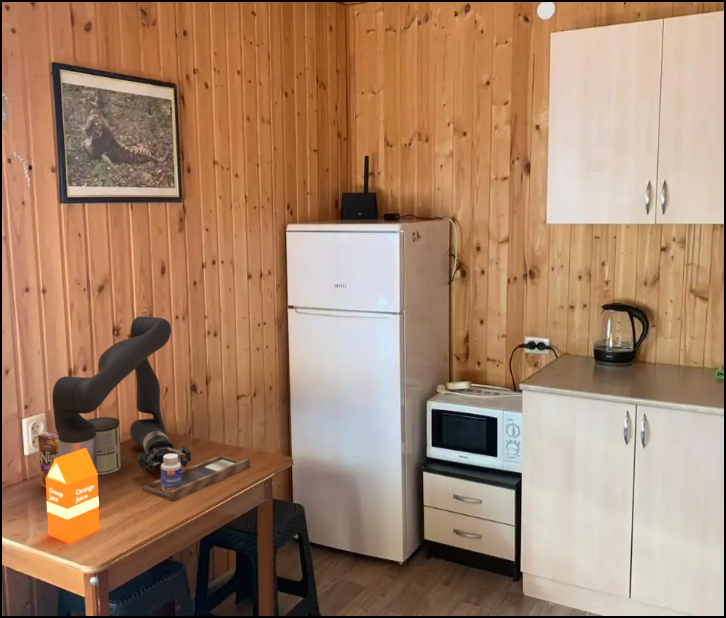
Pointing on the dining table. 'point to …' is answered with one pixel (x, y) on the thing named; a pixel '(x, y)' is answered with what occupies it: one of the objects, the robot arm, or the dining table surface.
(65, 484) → the orange juice
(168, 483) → the pill bottle
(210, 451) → the dining table surface
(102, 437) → the coffee can
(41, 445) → the candy box
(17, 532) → the dining table surface
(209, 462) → the tray
